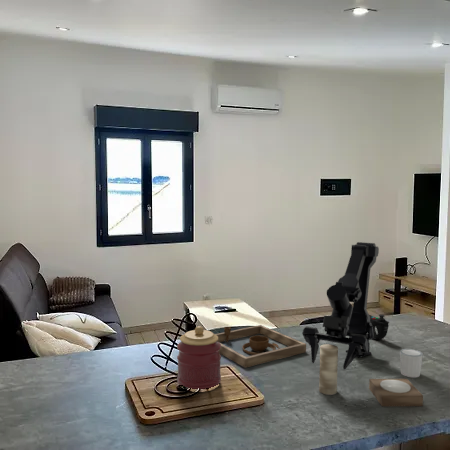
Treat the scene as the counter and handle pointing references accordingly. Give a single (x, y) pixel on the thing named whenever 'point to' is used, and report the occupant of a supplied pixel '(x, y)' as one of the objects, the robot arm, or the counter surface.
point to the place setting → (254, 343)
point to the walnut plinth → (395, 392)
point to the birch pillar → (328, 369)
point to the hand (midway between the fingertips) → (328, 365)
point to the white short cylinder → (410, 362)
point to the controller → (379, 326)
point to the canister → (199, 359)
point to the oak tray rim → (293, 349)
